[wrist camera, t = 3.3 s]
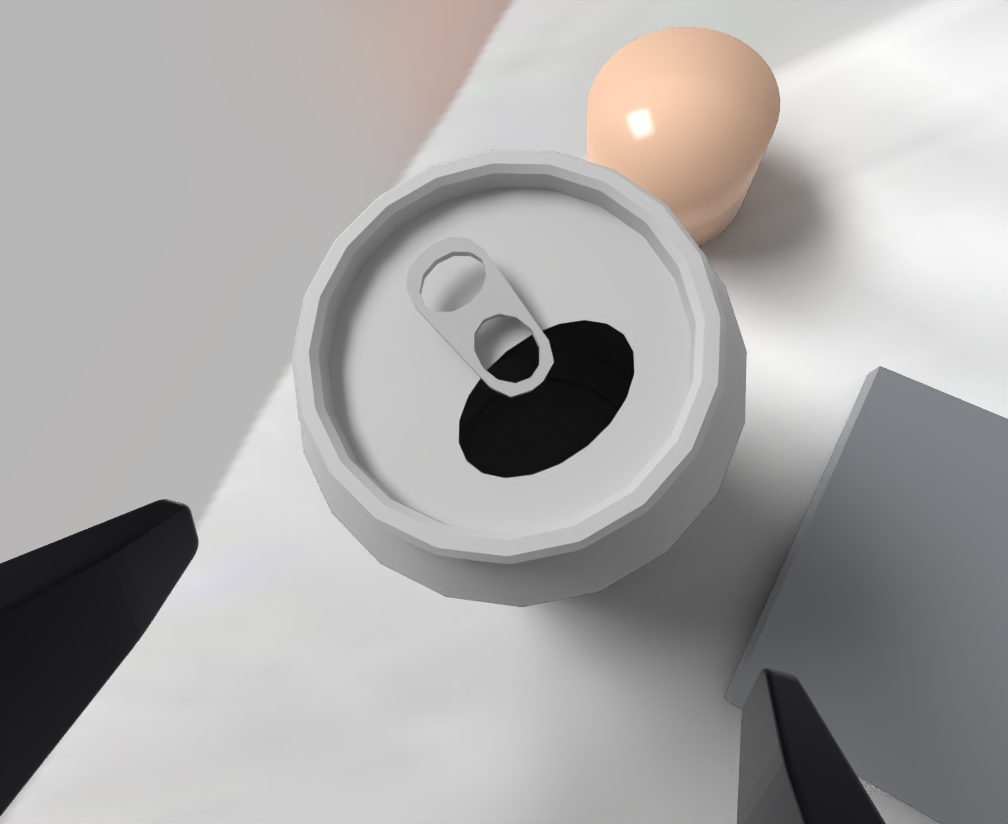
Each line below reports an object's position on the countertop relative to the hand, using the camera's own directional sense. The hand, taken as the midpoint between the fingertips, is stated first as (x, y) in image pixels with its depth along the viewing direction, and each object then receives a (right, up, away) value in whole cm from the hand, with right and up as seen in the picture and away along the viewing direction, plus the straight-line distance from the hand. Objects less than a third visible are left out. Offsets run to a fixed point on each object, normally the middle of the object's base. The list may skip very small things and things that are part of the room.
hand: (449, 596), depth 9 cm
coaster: (+15, -3, +8) cm, 17 cm away
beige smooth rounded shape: (+7, +11, +13) cm, 18 cm away
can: (+2, +1, +11) cm, 11 cm away
